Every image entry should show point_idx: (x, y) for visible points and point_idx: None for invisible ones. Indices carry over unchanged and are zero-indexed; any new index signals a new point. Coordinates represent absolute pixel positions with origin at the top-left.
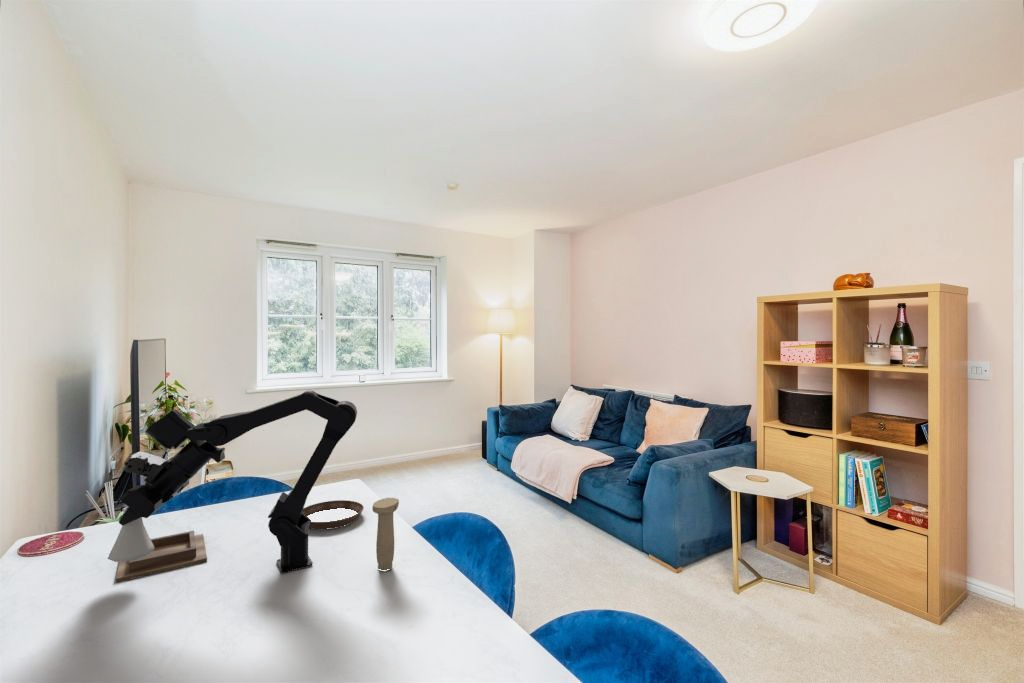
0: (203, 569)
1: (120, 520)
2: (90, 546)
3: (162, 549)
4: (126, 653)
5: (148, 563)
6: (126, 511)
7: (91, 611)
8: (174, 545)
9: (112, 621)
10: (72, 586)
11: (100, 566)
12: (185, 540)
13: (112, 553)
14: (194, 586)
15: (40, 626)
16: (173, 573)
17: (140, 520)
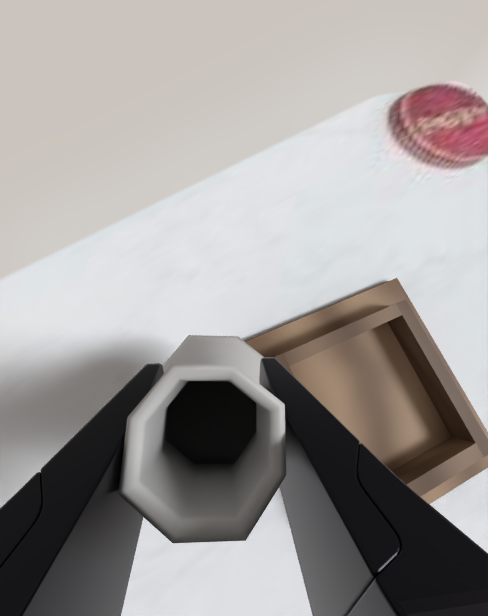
0: (266, 576)
1: (137, 378)
2: (431, 196)
3: (396, 382)
4: None
5: None
6: (57, 459)
7: (93, 368)
8: (421, 404)
9: (17, 450)
10: (235, 261)
11: (327, 268)
12: (449, 427)
13: (179, 351)
14: (152, 605)
15: (61, 295)
16: None
17: (213, 471)
